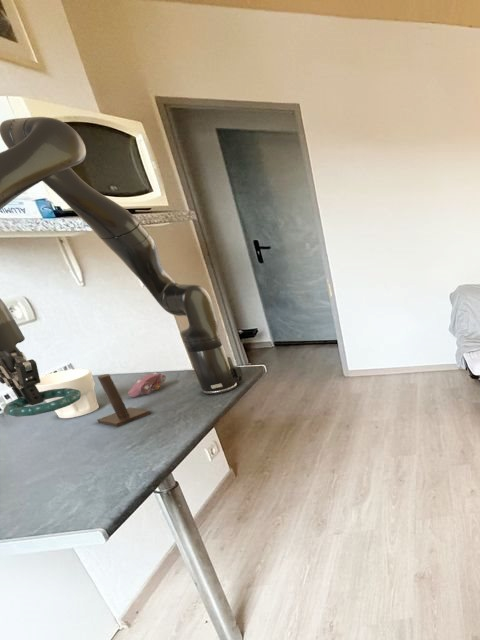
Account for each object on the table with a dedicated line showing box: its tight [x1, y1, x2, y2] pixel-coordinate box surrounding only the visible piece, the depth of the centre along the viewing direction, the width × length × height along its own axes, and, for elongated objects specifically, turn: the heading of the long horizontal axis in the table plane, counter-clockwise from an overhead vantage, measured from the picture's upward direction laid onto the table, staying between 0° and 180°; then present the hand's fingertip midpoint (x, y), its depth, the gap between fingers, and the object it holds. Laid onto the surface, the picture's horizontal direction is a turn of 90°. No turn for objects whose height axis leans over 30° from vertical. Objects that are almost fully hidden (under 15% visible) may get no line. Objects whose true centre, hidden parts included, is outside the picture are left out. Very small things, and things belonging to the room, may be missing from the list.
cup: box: [35, 368, 100, 419], centre depth 118 cm, size 12×12×11 cm
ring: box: [3, 388, 81, 418], centre depth 84 cm, size 11×11×2 cm
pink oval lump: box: [128, 372, 167, 398], centre depth 132 cm, size 10×5×7 cm, turn 179°
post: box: [96, 373, 151, 428], centre depth 114 cm, size 8×8×13 cm
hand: (32, 402), depth 86 cm, fingers closed on ring, 2 cm apart
